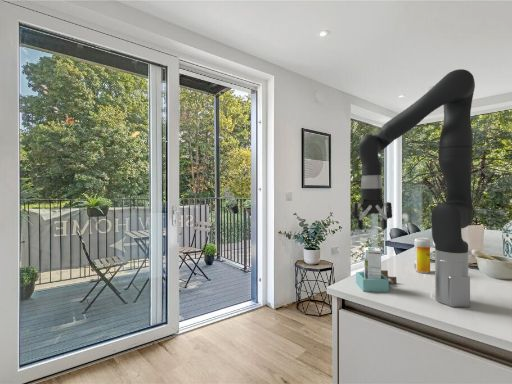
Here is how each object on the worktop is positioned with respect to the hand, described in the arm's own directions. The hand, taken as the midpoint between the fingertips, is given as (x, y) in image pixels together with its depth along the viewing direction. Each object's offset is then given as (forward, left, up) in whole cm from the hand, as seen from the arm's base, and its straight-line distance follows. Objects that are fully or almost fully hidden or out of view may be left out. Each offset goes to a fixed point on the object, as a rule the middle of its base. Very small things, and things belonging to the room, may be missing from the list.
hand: (372, 229), depth 111 cm
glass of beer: (+19, -28, -22) cm, 41 cm away
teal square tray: (0, +1, -22) cm, 22 cm away
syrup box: (-1, 0, -22) cm, 22 cm away
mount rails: (+7, -7, -22) cm, 24 cm away
